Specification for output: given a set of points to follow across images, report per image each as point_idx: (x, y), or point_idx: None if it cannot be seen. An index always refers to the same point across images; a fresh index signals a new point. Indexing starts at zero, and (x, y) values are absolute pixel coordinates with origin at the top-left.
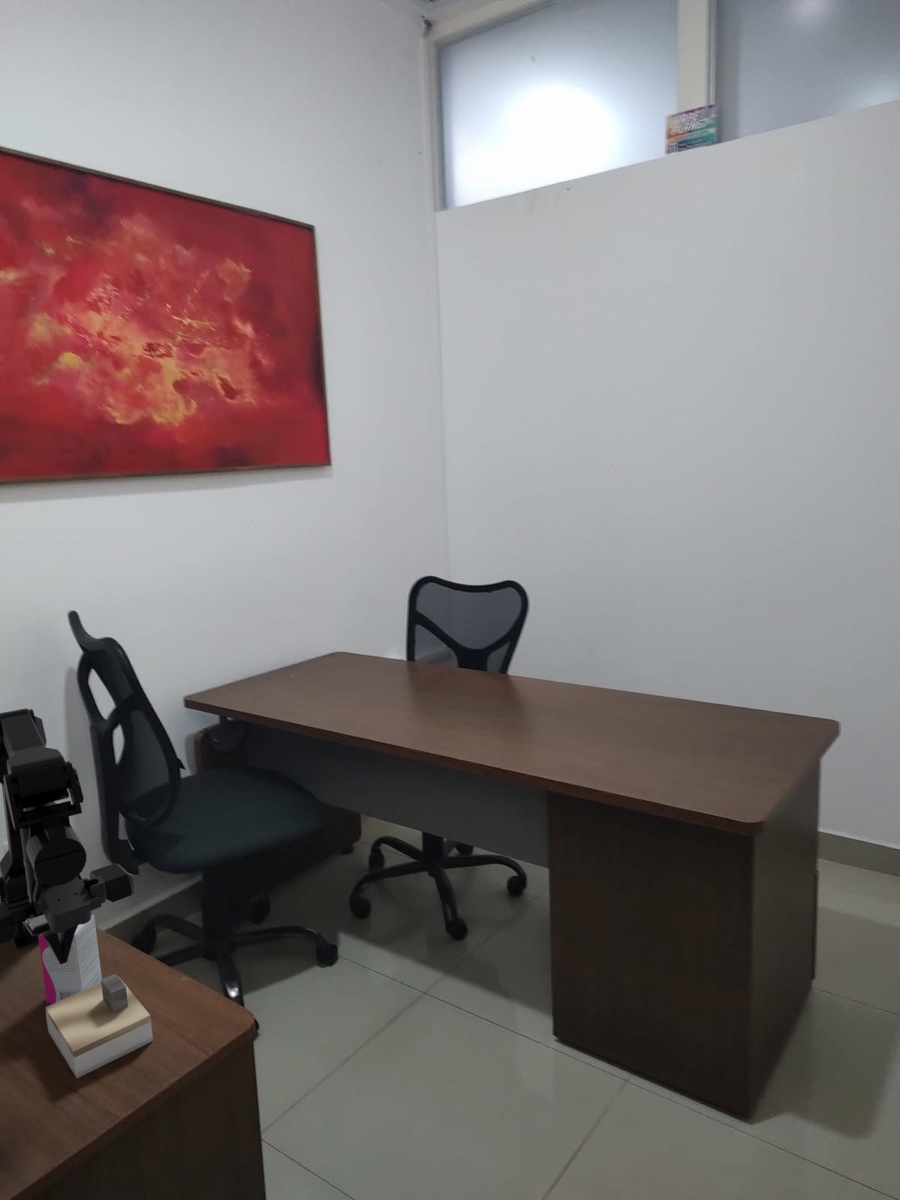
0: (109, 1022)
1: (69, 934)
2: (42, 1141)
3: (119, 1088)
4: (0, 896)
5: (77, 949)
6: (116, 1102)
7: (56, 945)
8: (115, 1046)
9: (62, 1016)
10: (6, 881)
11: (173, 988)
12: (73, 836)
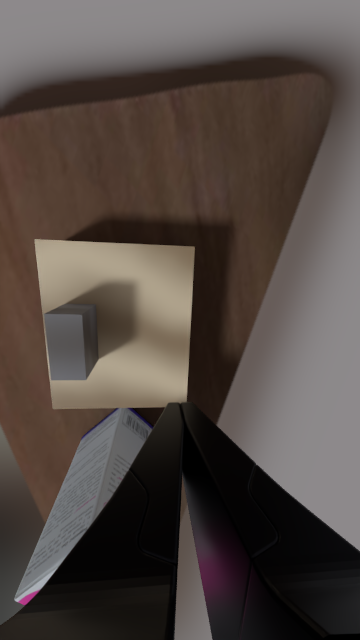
0: (111, 280)
1: (145, 510)
2: (274, 148)
3: (145, 169)
4: None
5: (97, 497)
6: (161, 138)
7: (230, 466)
8: None
9: (173, 362)
10: None
11: None
12: None
